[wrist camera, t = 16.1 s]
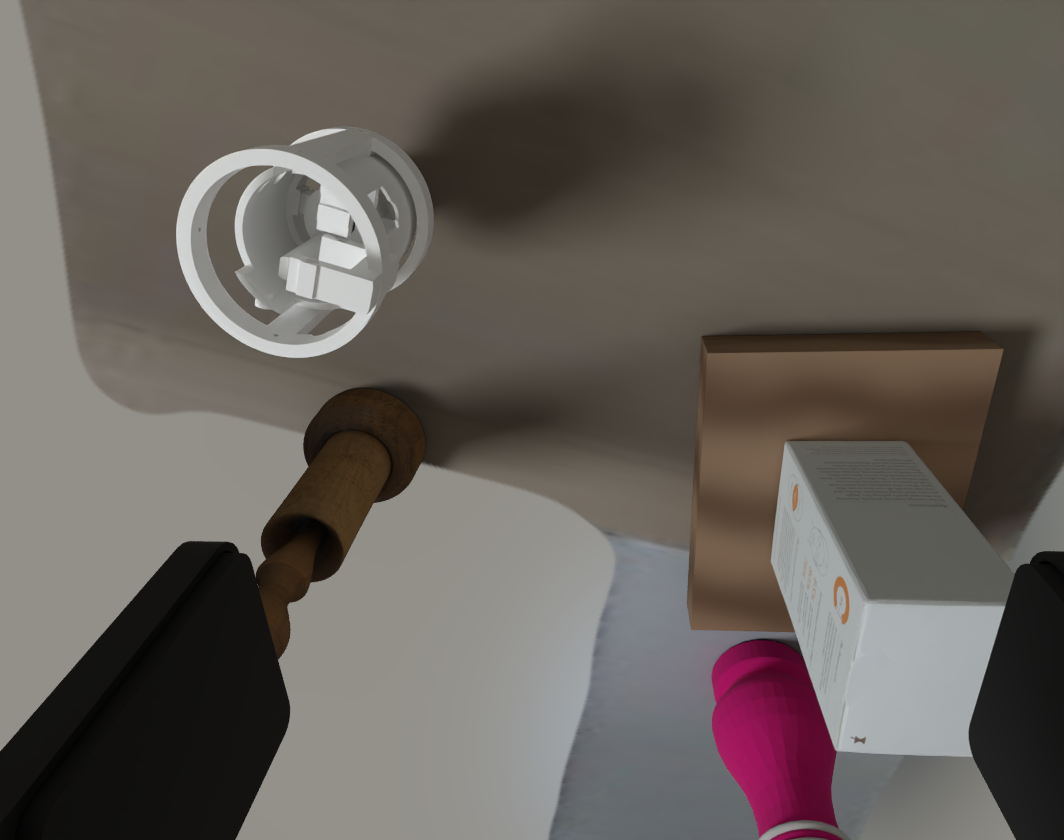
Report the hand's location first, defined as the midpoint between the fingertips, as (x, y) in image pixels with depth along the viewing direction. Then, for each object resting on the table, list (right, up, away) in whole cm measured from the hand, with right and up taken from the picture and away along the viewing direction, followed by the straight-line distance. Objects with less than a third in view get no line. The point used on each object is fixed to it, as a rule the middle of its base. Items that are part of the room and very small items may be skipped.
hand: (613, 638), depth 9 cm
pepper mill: (+14, -14, +40) cm, 45 cm away
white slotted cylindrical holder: (-8, +14, +28) cm, 32 cm away
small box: (+16, -2, +31) cm, 34 cm away
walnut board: (+15, -1, +33) cm, 36 cm away
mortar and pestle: (-11, +2, +34) cm, 36 cm away
